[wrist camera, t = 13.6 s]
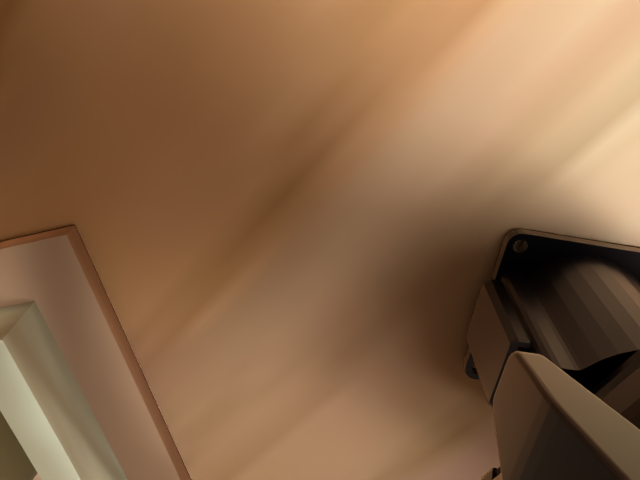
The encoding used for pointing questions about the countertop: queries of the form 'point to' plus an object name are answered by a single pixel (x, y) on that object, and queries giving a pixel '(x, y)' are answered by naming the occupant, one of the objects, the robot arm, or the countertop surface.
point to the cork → (13, 456)
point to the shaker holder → (74, 370)
